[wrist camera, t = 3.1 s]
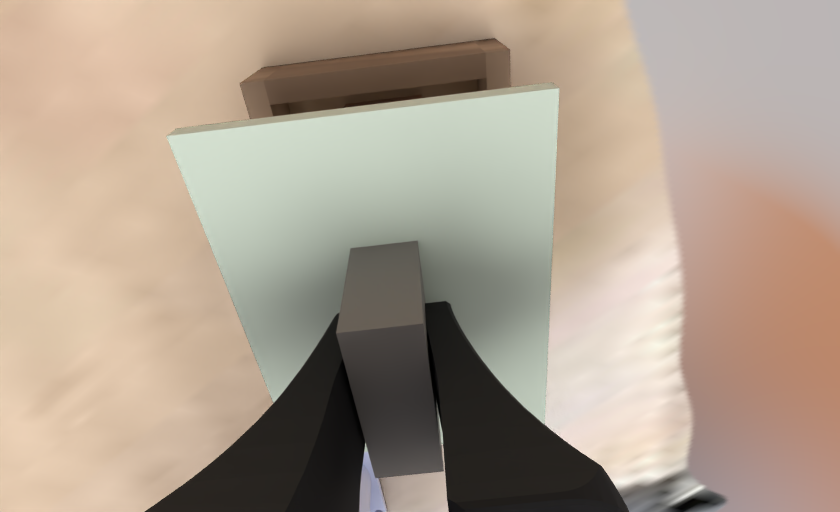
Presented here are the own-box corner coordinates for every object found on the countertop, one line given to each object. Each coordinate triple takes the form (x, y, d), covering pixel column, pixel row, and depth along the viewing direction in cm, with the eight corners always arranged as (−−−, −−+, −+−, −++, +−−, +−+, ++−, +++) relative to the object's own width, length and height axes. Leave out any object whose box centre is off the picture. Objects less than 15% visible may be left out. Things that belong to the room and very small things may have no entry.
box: (501, 293, 24) (513, 331, 22) (327, 312, 25) (319, 352, 22) (494, 38, 18) (510, 49, 16) (262, 67, 18) (239, 83, 16)
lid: (540, 419, 17) (574, 530, 14) (298, 444, 18) (275, 559, 14) (552, 81, 11) (619, 135, 8) (177, 128, 11) (82, 198, 8)
